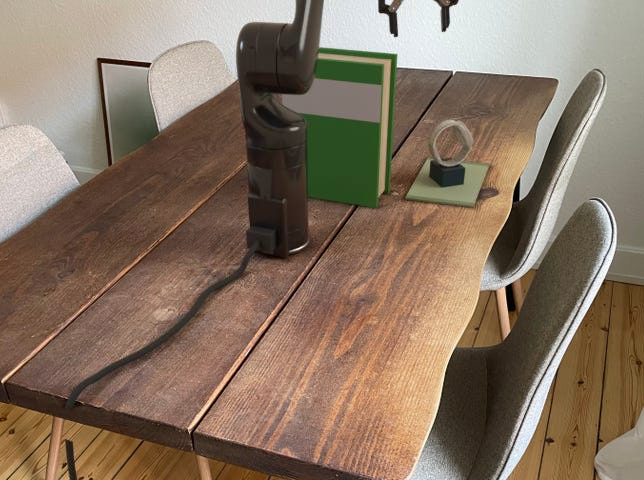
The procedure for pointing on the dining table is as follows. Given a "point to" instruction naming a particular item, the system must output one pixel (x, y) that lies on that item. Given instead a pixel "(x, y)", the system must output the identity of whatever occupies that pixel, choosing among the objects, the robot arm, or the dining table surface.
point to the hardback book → (349, 125)
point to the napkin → (452, 195)
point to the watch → (449, 168)
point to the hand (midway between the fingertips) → (420, 33)
